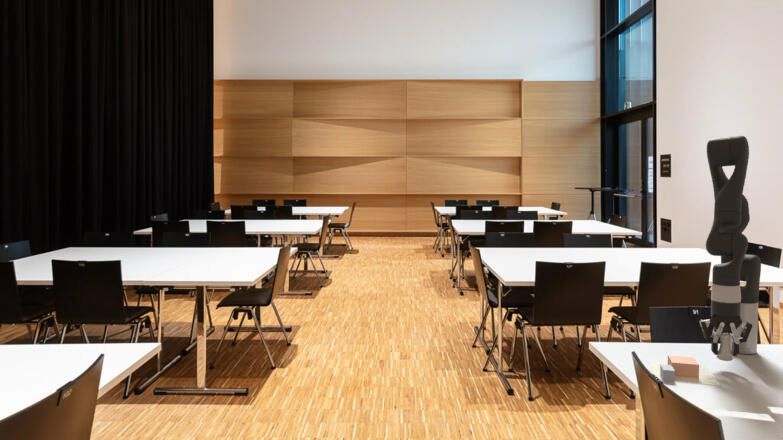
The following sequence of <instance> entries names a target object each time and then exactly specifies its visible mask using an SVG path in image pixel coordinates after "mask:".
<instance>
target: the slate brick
mask: <svg viewBox="0 0 783 440" xmlns="http://www.w3.org/2000/svg"><path fill="white" fill-rule="evenodd" d="M660 375H661V377H662V379H663V380H662V381H664V380H666V382H675V370H674V368H673V367H672V365H662V364H660Z"/></svg>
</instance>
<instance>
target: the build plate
mask: <svg viewBox="0 0 783 440" xmlns="http://www.w3.org/2000/svg"><path fill="white" fill-rule="evenodd" d="M648 363H649V365H650V367H651V369H652V371H653V373H654V376H655V375H656V376H657V377H658V378H659V379H661V380H660V381H664V382H665V381H666V380H663V379H662V377H661V375H660V364H662V365H668V363H662V362H648ZM656 376H655V377H656ZM666 382H667V381H666ZM674 382H678V383H687V384H688V383H689V384H699V385H708V386H719V387H721V386H722V385H721V384H720V383H719V381H718V380H717V378H716V377H715V376H714V375H713V374H712V372H711V371H710V369H709V368H708V367H707V366H700V365H699V378H689V377H678V376H675V381H674Z"/></svg>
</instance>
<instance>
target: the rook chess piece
mask: <svg viewBox="0 0 783 440" xmlns="http://www.w3.org/2000/svg"><path fill="white" fill-rule="evenodd" d="M719 338H720V339H719V341H720V342H719V343H720V344H719V347H718V355H715V356H716V358H717V359H718V360H720V361H724V362H732V361H733V360H734V359H735V358H734V356H733V353H732V351H731V349H730V342H731V341H730V338H731V335H730V333H728V334H727V332H725V333H721V335H720V337H719Z"/></svg>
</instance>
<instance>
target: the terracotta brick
mask: <svg viewBox="0 0 783 440" xmlns="http://www.w3.org/2000/svg"><path fill="white" fill-rule="evenodd" d="M667 364H668V365H672V367H673V368H674V370H675V376H678V377H689V378H699V366H700V364H699V362H698V361H697V360H696V358H695V357H694V356H681V355H669V354H668V355H667Z"/></svg>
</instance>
